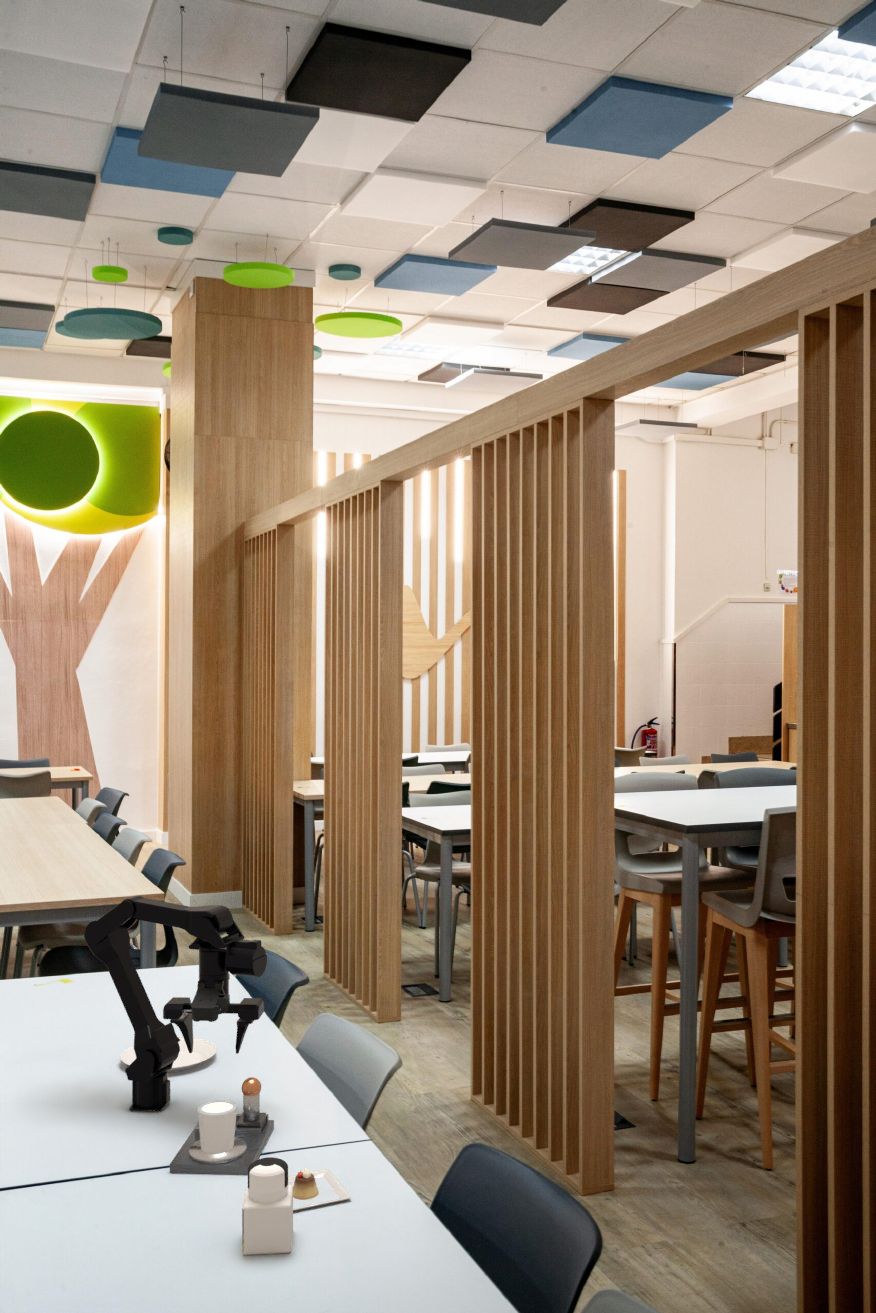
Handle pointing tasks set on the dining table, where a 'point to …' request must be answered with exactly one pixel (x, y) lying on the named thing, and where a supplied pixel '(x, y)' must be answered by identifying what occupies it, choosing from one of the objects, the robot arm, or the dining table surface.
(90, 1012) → the dining table surface
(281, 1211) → the medicine bottle
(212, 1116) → the white cup
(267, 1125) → the base
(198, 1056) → the plate
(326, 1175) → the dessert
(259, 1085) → the press lever
